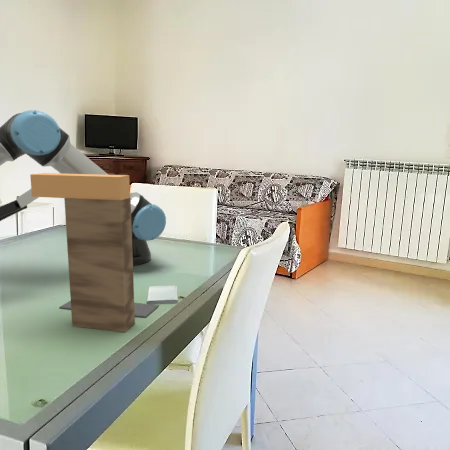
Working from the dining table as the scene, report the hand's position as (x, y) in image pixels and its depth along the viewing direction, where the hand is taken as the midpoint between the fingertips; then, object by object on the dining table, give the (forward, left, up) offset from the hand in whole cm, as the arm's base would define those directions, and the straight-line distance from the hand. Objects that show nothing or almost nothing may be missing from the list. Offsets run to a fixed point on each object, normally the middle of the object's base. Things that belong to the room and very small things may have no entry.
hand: (19, 194), depth 111 cm
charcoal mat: (-8, +18, -30) cm, 36 cm away
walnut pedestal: (+2, +22, -30) cm, 37 cm away
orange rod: (+2, +18, 0) cm, 18 cm away
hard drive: (-20, +28, -31) cm, 46 cm away
